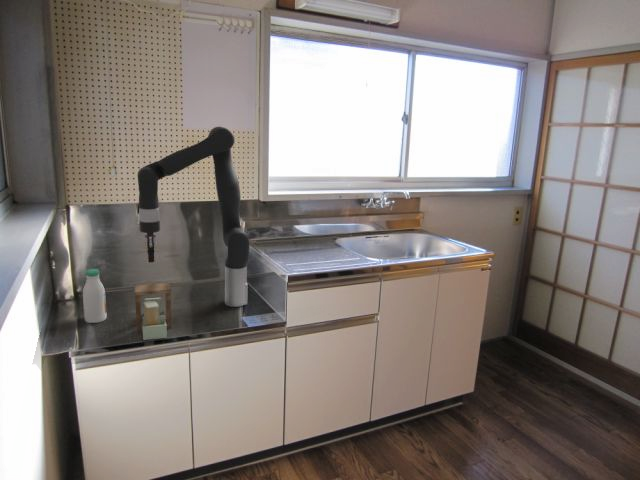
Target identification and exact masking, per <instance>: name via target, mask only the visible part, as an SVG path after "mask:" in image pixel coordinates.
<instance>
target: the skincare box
mask: <svg viewBox="0 0 640 480" xmlns="http://www.w3.org/2000/svg"><path fill="white" fill-rule="evenodd" d="M143 313H144V326H154V325H159V306H158V304H157V302H156V301H155V300H151V301H145V300H144V301H143Z"/></svg>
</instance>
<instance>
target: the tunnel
mask: <svg viewBox="0 0 640 480" xmlns="http://www.w3.org/2000/svg"><path fill="white" fill-rule="evenodd" d="M171 292H172V289H171V283H170V282H166V283H163V282H162V283H152V284H151V283H149V284H139V285H138V284H137V285H134V296H135V298H134V301H135V315H136V317H135V319H136V332H137V333H138V332H143V327H142V307H141V305H142V304H141V303H142V302H141V296H144V295H157V294H164V295H165V317H166V324H167V330H168V329H172V327H173V326H172V324H173V323H172V293H171Z"/></svg>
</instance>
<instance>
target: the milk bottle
mask: <svg viewBox="0 0 640 480" xmlns="http://www.w3.org/2000/svg"><path fill="white" fill-rule="evenodd" d="M85 277H86V281H85V284H84V286H83V289H82V301H83V317H84V321H85V322H86V323H89V324H95V323H96V324H98V323H102V322H103V321H105V320H106V319H107V317H108V316H107V315H108V314H107V299H106V290H105V287H104V285H103V283H102V282H101V279H100V270H99V269H97V268H91V269H87V270H85Z"/></svg>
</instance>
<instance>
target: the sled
mask: <svg viewBox="0 0 640 480" xmlns="http://www.w3.org/2000/svg"><path fill="white" fill-rule="evenodd" d="M151 300H155V301H156V302H157V304H158V306H159V314H161V312H162V297H153V298H152V297H151V298H150V297H149V298H144V302H145V301H151ZM141 320H142V339H143V341H146V340H157V339H158V340H159V339H167V338H168V329H167V323H166V314H164V315H159V325H154V326H144V317H143V316H141Z"/></svg>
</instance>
